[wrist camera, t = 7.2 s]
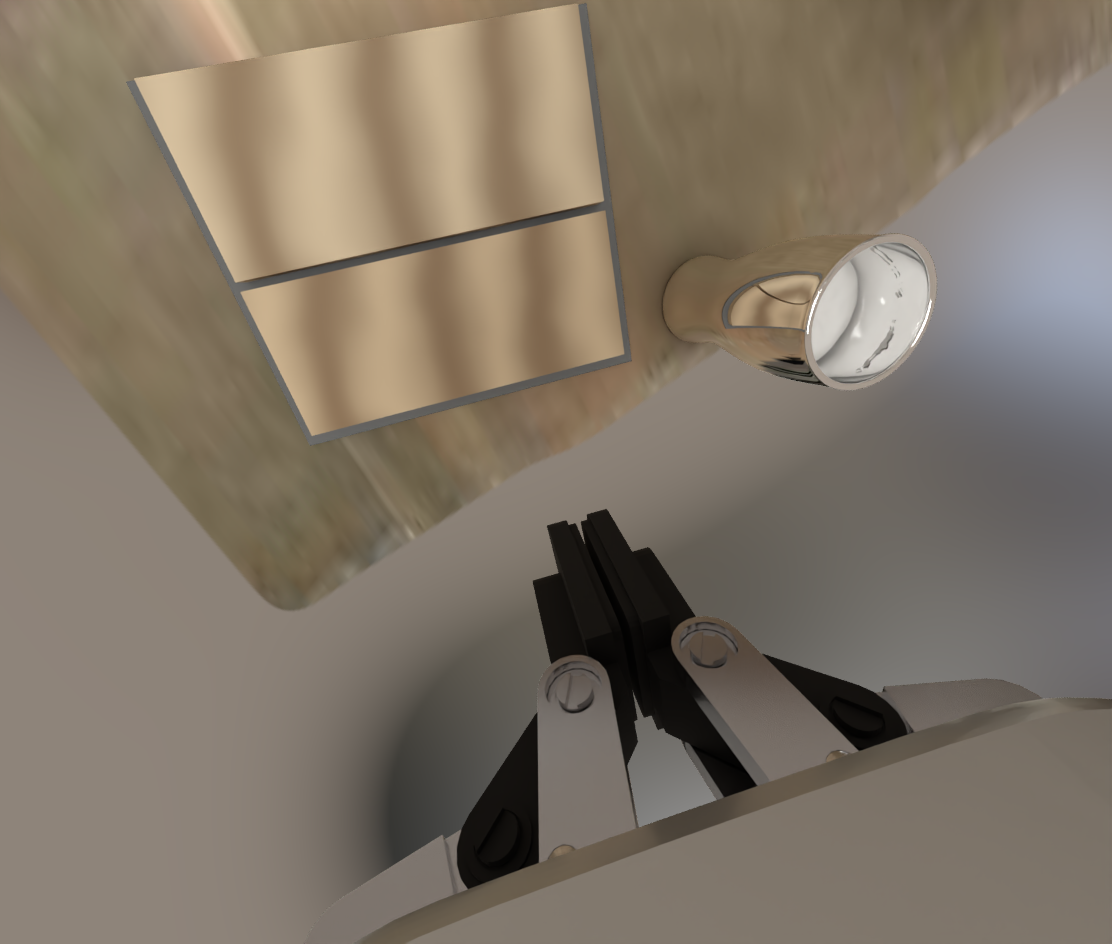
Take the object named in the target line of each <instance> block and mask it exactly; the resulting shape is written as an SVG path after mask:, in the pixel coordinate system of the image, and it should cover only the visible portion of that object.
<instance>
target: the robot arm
mask: <svg viewBox="0 0 1112 944" xmlns="http://www.w3.org/2000/svg"><path fill="white" fill-rule="evenodd" d="M581 525H582V531H583V535H584V540H585V544H584V542H583V539H582V537H581V535H580V532H579V530H578V528H577V526H576V524H575V523H574V524H571V525H568V523H567V521H562V522H559V523H555V524H551V525H548V526H547V528H548V532H549V536H550V539H551V544H552V548H553V552H554V556H555V560H556V564H557V568H558V572H559V573H558V574H554V575H551V576H547V577H544V578H541V579H537V580H534V581H533V585H534V590H535V594H536V599H537V603H538V608H539V612H540V616H541V621H542V625H543V630H544V635H545V639H546V644H547V648H548V653H549V657H550V661H551V665H550V666H549V667H548V668H547V669H546V670H545V671H544V673H543V675H542V677H541V679H540V681H539V685H538V692H537V700H538V701H537V703H538V704H537V708H538V712H537V713H536V715H535V716H534V718H533V719H532V721H531V722H530V724H529V725H528V727H527V728H526V730H525V731H524V733H523V734H522V736H521V737H520V739H519V740H518V742H517V743H516V745H515V747H514V748H513V749H512V751H511V752H510V754H509V755H508V757H507V758H506V760H505V761H504V763H503V765H502V766H501V767H500V769H499V771H498V772H497V773H496V775H495V777H494V778H493V779H492V781H491V783H490V784H489V786H488V787H487V789H486V790H485V792H484V793H483V795H482V796H481V798H480V799H479V801H478V802H477V804H476V805H475V807H474V808H473V810H472V811H471V813H470V814H469V816H468V818H467V820H466V822H465V824H464V826H463V828H462V829H461V830H460V831H458V832H456V833H455V834H453V835H452V836H450V837H448V838H447V839H445V838H444V837H443V835H441V836H440V837H438V838H436V839H435V840H433V841H432V842H430V843H429V844H427V845H425V846H424V847H422V848H420V849H419V850H417V851H416V852H414V853H413V854H411V855H409V856H408V857H406V858H404V859H403V860H401V861H400V862H398V863H397V864H395V865H393V866H392V867H390V868H388V869H387V870H385V871H384V872H382V873H381V874H379V875H378V876H376V877H374V878H372V879H371V880H369V881H368V882H366V883H364V884H363V885H362V886H360V887H358V888H356V889H355V890H354V891H352V892H350V893H348V894H347V895H345V896H344V897H342V898H340V899H339V900H337V901H336V902H335V903H334V904H333V905H332V906H330V907H329V908H328V909H327V910H326V911H325V912H323V914H322V915H321V916H320V918H319V919H318V920H317V922H316V923H315V925H314V926H313V927H312V929H311V930H310V932H309V934H308V936H307V938H306V940H305V943H304V944H1112V699H1102V698H1070V697H1069V698H1068V697H1064V698H1050V699H1042V698H1041V697H1040V696H1039V695H1037V694H1035V693H1033V692H1031V691H1029V690H1028V689H1026V688H1024V687H1022V686H1020V685H1016V684H1013V683H1010V682H1007V681H1004V680H997V679H974V680H961V681H950V682H949V681H948V682H935V683H922V684H910V685H897V686H884V687H883V691H882V692H878V693H874V692H873V691H870V690H868V689H866V688H863V687H861V686H859V685H856V684H853V683H850V682H847V681H844V680H841V679H838V678H835V677H832V676H828V675H826V674H822V673H819V672H816V671H813V670H810V669H807V668H804V667H801V666H798V665H795V664H792V663H789V662H786V661H783V660H780V659H777V658H774V657H770V656H768V655H765V654H761V653H760V652H759V651H758V650H757V649H756V648H755V647H754V646H753V645H752V644H751V643H750V642H749V641H748V640H747V639H746V638H745V637H744V636H743V635H742V634H741V633H740V632H739V631H738V630H737V629H736V628H735V627H734V626H732V625H731V624H729V623H728V622H726V621H723V620H721V619H719V618H714V617H709V616H702V617H696V616H695V615H694V613H693V612H692V610H691V609H690V607H689V606H688V604H687V603H686V601H685V600H684V598H683V597H682V595H681V594H680V592H679V591H678V589H677V588H676V586H675V585H674V583H673V582H672V580H671V579H670V577H669V575H668V574H667V573H666V571H665V570H664V568H663V567H662V565H661V563H660V562H659V560H658V559H657V557H656V556H655V555H654V553H653V552H652V550H651V549H650V548H648V547H647V548H644V549H641V550H637V551H634V552H632V551H631V549H630V547H629V546H628V544H627V542H626V540H625V539H624V537H623V536H622V534H621V532H620V530H619V529H618V527H617V525H616V524H615V522H614V520H613V519H612V517H611V515H610V514H609V512H608V510H607V509H605V510H601V511H597V512H594V513H590V514H587V520H585V521H581ZM632 690H633V691H632ZM633 692H634V695H635V698H636V700H637V702H638V705H639V707H640V710H641V712H642V715H643V716H644V717H648V716H651V715H652V717H653V720H654V722H655V724H656V727H657V729H658V730H659V729H662V728H664V729H665V731H666V733H668V734H670V735H672V736H674V737H676V738H678V739H681V741H682V744H683V746H684V748H685V750H686V752H687V754H688V755H689V757H690V759H691V760H692V762H693V763H694V765H695V766H696V768H697V770H698V771H699V773H700V774H701V776H702V778H703V779H704V781H705V782H706V784H707V786H708V787H709V789H710V790H711V792H712V793H713V795H714V797H715V798H716V801H713V802H711V803H708V804H705V805H703V806H699V807H697V808H693V809H691V810H688V811H685V812H682V813H679V814H676V815H673V816H670V817H668V818H665V819H662V820H659V821H656V822H653V823H650V824H648V825H645V826H642V827H639V826H638V821H637V815H636V809H635V804H634V798H633V793H632V788H631V782H630V777H629V771H628V766H627V765H628V762H629V760H630V758H631V756H632V754H633V751H634V749H635V747H636V745H637V742H638V740H637V734H636V730H635V723H634V721H636V720H637V714H636V708H635V702H634V697H633Z"/></svg>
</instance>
